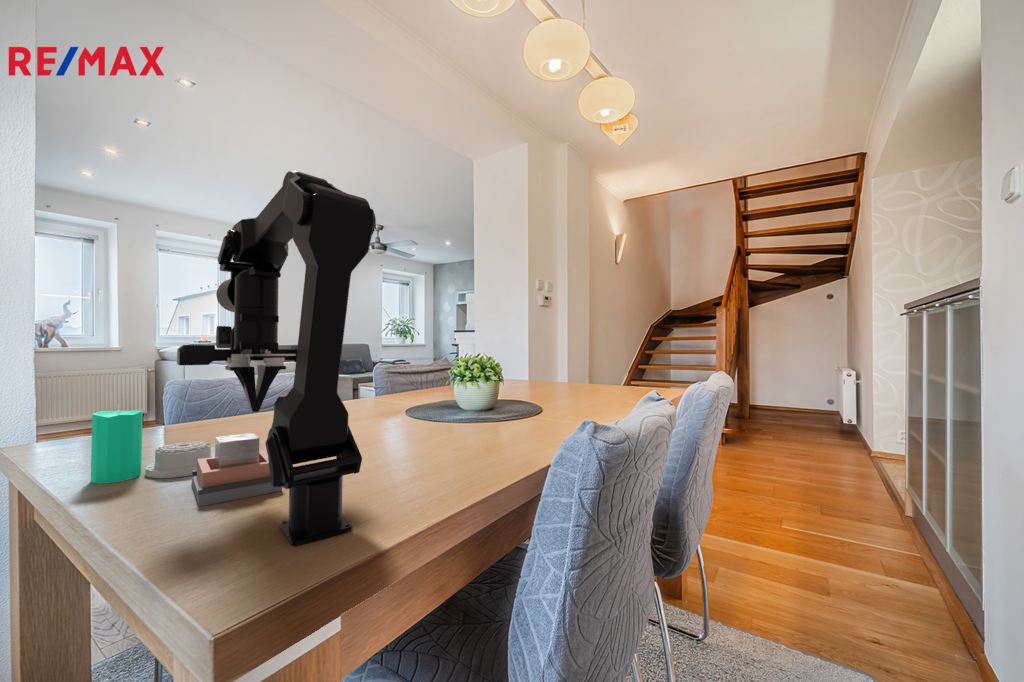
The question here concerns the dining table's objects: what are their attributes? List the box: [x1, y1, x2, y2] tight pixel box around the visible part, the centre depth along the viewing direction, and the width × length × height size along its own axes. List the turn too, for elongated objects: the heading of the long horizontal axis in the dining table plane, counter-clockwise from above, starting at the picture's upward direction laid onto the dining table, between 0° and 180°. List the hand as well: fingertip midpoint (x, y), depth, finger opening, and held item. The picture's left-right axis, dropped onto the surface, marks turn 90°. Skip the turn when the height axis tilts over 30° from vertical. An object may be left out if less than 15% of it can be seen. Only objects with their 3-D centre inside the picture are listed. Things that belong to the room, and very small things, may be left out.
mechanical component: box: [144, 441, 215, 479], centre depth 73 cm, size 10×4×10 cm
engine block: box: [214, 432, 260, 469], centre depth 65 cm, size 5×5×6 cm
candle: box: [90, 402, 144, 484], centre depth 68 cm, size 6×6×12 cm
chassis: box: [191, 450, 283, 507], centre depth 64 cm, size 12×10×4 cm
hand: (255, 411), depth 65 cm, fingers closed
